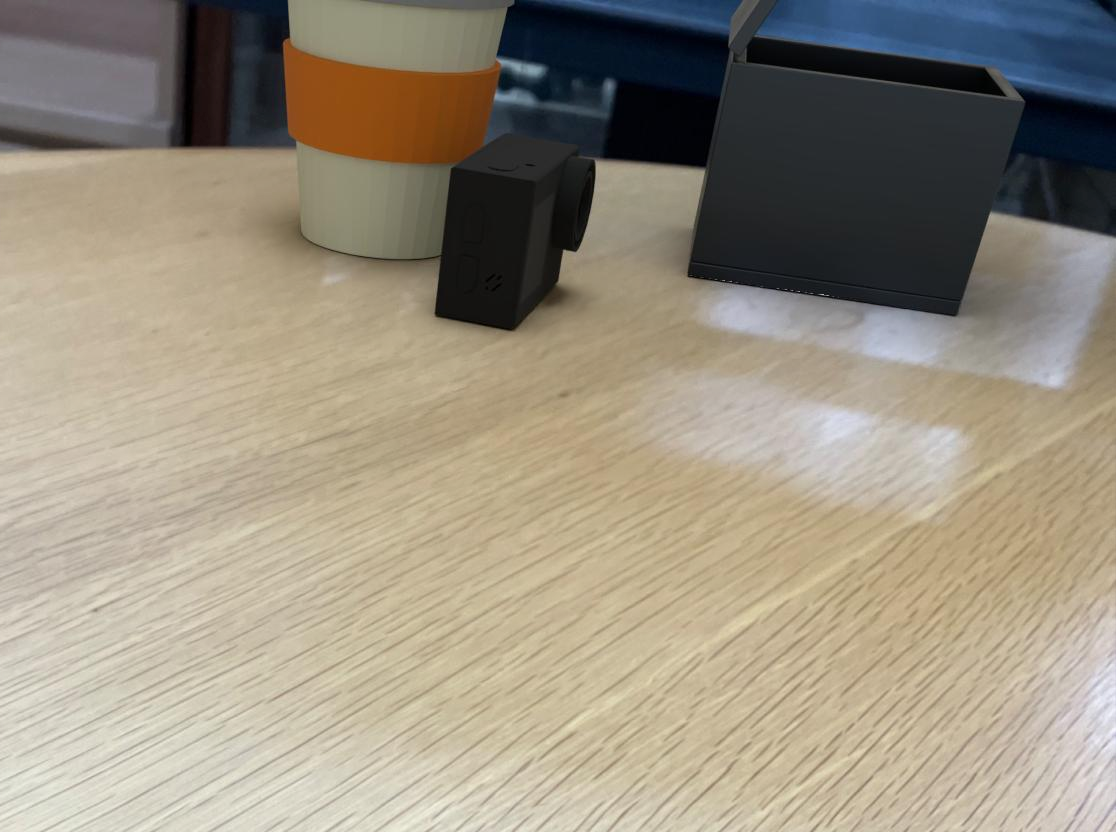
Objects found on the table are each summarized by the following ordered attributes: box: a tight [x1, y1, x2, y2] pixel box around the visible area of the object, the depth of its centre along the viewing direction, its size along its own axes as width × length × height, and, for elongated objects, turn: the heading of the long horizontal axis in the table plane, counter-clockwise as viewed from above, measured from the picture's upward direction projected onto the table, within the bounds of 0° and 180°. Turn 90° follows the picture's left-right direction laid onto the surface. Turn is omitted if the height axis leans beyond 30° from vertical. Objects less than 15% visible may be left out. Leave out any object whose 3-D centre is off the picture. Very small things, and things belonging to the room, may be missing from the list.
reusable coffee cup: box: [282, 0, 515, 260], centre depth 84 cm, size 13×13×15 cm
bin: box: [686, 34, 1026, 316], centre depth 89 cm, size 16×13×11 cm
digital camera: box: [434, 133, 597, 330], centre depth 79 cm, size 10×5×7 cm, turn 162°
